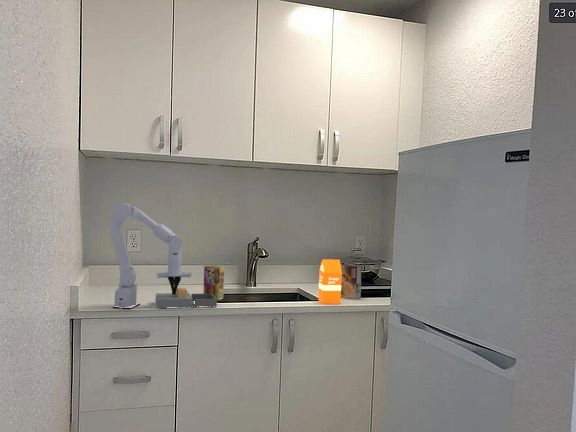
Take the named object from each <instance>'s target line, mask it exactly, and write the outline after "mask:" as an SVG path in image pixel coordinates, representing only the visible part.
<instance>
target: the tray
mask: <svg viewBox="0 0 576 432" xmlns="http://www.w3.org/2000/svg"><path fill="white" fill-rule="evenodd" d="M190 295H191V297H192V306H193V307H197V306H198V307H199V306H217V304H218V300H217V299H216V297H215V296H214V295H213V294H212V293H204V292H203V293H191V294H190ZM193 301H195V304H194V302H193ZM193 307H192V308H193Z"/></svg>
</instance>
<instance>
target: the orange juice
mask: <svg viewBox="0 0 576 432" xmlns="http://www.w3.org/2000/svg"><path fill="white" fill-rule="evenodd" d="M318 273H319V276H318V293H317V294H318V296H317V297H318V299H317V300H318V301H319V303H321V302H322V303H321V304H341V301H342V300H341V298H342V297H341V277H342V272H341V260H340V259H322V260H321V262H320V267H319V272H318Z"/></svg>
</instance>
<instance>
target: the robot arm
mask: <svg viewBox="0 0 576 432" xmlns="http://www.w3.org/2000/svg"><path fill="white" fill-rule="evenodd" d="M129 217H130V218H131V219H136V220H139V221H140V222H141V223H143V224H144V225H146V226H147V227H148V228H149V229H152V231H153V233H152V234H153V235H154V236H155V237H157V238H158V239H160V241H162V242H163V243H165V244H167V245H168V252H167V272H157V273H156V278H157V279H165V278H166V279H167V280H168V282H169V286H170V289H171V293H172V295H175V294H176V290H177V288H179V285H180V282H181V280H182V278H192V276H193V275H192V272H182V256H183V254H182V247H183V243H184V242H183V240H182V238H181V236H179V234H177V233H176V232H175V231H174V232H173V230H171V229H170V228H168V225H167V224H164V223H157V222H155V220H153V218H150V217H149V216H148V215H147V214H146V213H144V212H143V211H142V210H141V209H139V208H138V207H137V206H134V205H132V204H131V203H129V202H125V201H123V202H120V203H118V204H117V205H116V206H115V208H114V209H113V211H112V213H111V216H110V218H109V221H108V227H109V232H110V235H111V236H110V237H111V240H112V242H113V243H112V244H113V247H114V251H115V254H116V259H117V263H118V265H119V266H118V267H119V273H120V275H119V284H118V288H117V289H116V290H115V292H114V306H119V307H129V306H132V305H136V303H137V294H138V293H137V291H138V289H137V287H138V284H137V283H136V278H137V272H136V271H135V269H133V266H132V263H131V261H130V257H129V253H128V248H127V245H126V241H125V237H124V234H123V230H122V225H123V223H124V222H125V220H126V219H127V218H129Z"/></svg>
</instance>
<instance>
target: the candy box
mask: <svg viewBox="0 0 576 432" xmlns="http://www.w3.org/2000/svg"><path fill="white" fill-rule="evenodd" d="M203 268H204V270H203V293H212V294H213V295H214V296H215V297H216V299H217V301H220V300H223V299H224V286H225V284H224V283H225V266H219V265H211V264H210V265H209V264H208V265H204V266H203Z"/></svg>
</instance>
